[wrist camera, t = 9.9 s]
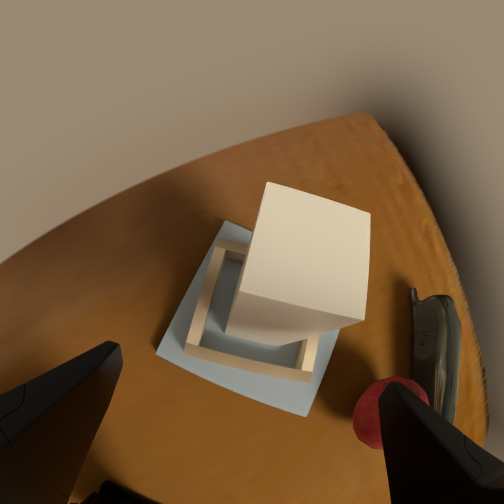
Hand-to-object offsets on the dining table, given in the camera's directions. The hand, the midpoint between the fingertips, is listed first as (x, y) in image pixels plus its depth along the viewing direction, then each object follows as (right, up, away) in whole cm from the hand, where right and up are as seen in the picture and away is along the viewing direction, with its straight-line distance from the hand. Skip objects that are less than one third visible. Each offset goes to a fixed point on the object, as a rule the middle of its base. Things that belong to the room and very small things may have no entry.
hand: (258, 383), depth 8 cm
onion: (+9, -9, +11) cm, 17 cm away
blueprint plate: (+1, -1, +13) cm, 13 cm away
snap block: (0, -1, +12) cm, 12 cm away
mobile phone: (+16, -7, +13) cm, 22 cm away
